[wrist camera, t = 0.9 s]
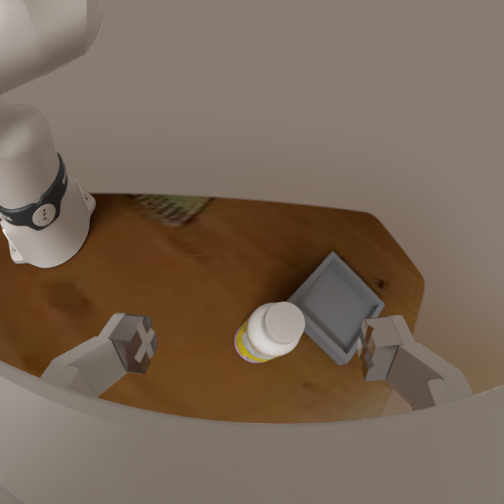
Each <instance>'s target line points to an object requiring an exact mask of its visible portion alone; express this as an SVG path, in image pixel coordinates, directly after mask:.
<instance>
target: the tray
mask: <svg viewBox="0 0 504 504" xmlns="http://www.w3.org/2000/svg"><path fill="white" fill-rule="evenodd" d="M286 302H289V303H292V304H294V305H295V306H297V307H298V308H299V309H300V311H301V312H302V314H303V316H304V319H305V328H304V332H305V333H306V334H307V335H308V336H309V337H310V338H311V339H312V340H313V341H314V342H315V343H317V344H318V345H319V346H320V347H321V348H322V349H323V350H324V351H325V352H326V353H327V354H328V355H329V356H330V357H331V358H332V359H333V360H334V361H335V362H336V363H337V364H338V365H342V364H346V363H348V362H349V360H350V359H351V358H352V356H353V355H354V353H355V352H356V350H357V349H358V339H359V335H360V334H361V333H362V332H363V331H362V327H361V326H362V321H363V319H364V318H376V317H378V316H379V314H380V312H381V310H382V309H383V307H384V305H385V304H384V303H383V302H382V301H381V300H380V299H379V297H378V296H377V295H376V294H375V293H374V292H373V291H372V290H371V289H370V288H369V287H368V286H367V285H366V284H365V283H364V282H363V281H362V280H361V279H360V278H359V277H358V276H357V275H356V274H355V273H354V272H353V271H352V270H351V269H350V268H349V267H348V266H347V265H346V264H345V263H344V262H343V261H342V260H341V259H340V258H339V257H338V256H337V255H336V254H335V253H334V252H333V251H332V252H331V253H330V254H329V255H328V256H327V257H326V258H325V259H324V260H323V262H322V263H321V264H320V265H319V266H318V267H317V268H316V269H315V270H314V271H313V273H312V274H311V275H310V276H309V277H308V278H307V279H306V280H305V281H304V282H303V283H302V285H301V286H300V287H299V288H298V289H297V290H296V291H295V292H294V293H293V294H292V295H291V296H290V297H289V298H288V299H287V301H286Z"/></svg>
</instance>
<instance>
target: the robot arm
mask: <svg viewBox="0 0 504 504" xmlns="http://www.w3.org/2000/svg"><path fill="white" fill-rule="evenodd" d="M102 16H103V8H102V2H101V0H0V95H2V94H4V93H6V92H8V91H10V90H12V89H14V88H17V87H19V86H21V85H23V84H25V83H28V82H30V81H33V80H35V79H37V78H40V77H42V76H45V75H47V74H49V73H51V72H53V71H55V70H56V69H58V68H60V67H62V66H64V65H66V64H68V63H70V62H71V61H73V60H75V59H77V58H79V57H81V56H83V55H84V54H85V53H86V52H87V51H88V50H89V48H90V47H91V45H92V44H93V42H94V40H95V39H96V37H97V34H98V32H99V29H100V26H101V22H102ZM86 199H87V200H86ZM95 206H96V201H95V199H94V198H93V197H92V196H91V195H90V194H89V193H88V192H86V191H85V190H84V189H83V188H82V187H81V186H80V183H79V181H78V179H77V178H74V177H73V176H72V175H71V174H69V173H68V172H67V171H66V167H65V164H64V162H63V161H62V158H61V156H60V154H59V153H58V152H57V151H56V147H55V144H54V140H53V137H52V133H51V129H50V125H49V121H48V119H47V117H46V116H45V115H44V114H43V113H42V112H41V111H40V110H39V109H37V108H35V107H33V106H31V105H27V104H11V103H6V102H3V101H1V100H0V218H1V219H2V221H1V222H0V223H1V226H2V228H3V232H4V234H5V236H6V237H7V239H8V240H9V246H10V252H11V257H12V259H13V261H14V262H15V263H30V264H32V265H35V266H37V267H43V268H48V267H54V266H57V265H60V264H62V263H64V262H66V261H67V260H69V259H70V258H71V257H72V256H74V255H75V254H76V253H77V251H78V250H79V249H80V248H81V246H82V245H83V243H84V241H85V239H86V237H87V234H88V230H89V223H90V216H91V214H92V212H93V211H94V209H95ZM151 326H152V322H151V319H150V317H148V316H143V315H134V314H124V313H115V314H114V315H113V316H112V318H111V319H110V320H109V322H108V323H107V325H106V326H105V327H104V329H103V330H102V332H101V333H100V334H99V336H98V337H93V338H91V339H90V340H88V341H86V342H84V343H82V344H81V345H79V346H77V347H75V348H73V349H71V350H70V351H68V352H66V353H64V354H62V355H61V356H59V357H57V358H55V359H53V361H52V362H51V363H50V365H49V366H48V368H47V369H46V370H45V372H44V373H43V375H42V376H41V378H38V377H36V376H34V375H31V374H29V373H26V372H24V371H22V370H20V369H17V368H15V367H13V366H11V365H9V364H7V363H5V362H3V361H1V360H0V504H504V385H501V386H499V387H496V388H493V389H491V390H488V391H485V392H482V393H479V394H476V395H473V393H472V391H471V389H470V387H469V385H468V383H467V381H466V378H465V376H464V374H463V372H462V371H460V370H459V369H457V368H456V367H454V366H453V365H451V364H450V363H448V362H447V361H445V360H444V359H442V358H441V357H439V356H438V355H436V354H435V353H433V352H432V351H430V350H429V349H427V348H426V347H424V346H423V345H421V344H420V343H415V341H414V339H413V337H412V335H411V332H410V330H409V328H408V326H407V324H406V322H405V320H404V318H403V316H401V315H396V316H389V317H376V318H364V319H363V321H362V326H361V327H362V331H363V332H362V333H361V334H360V335H359V339H358V356H359V359H360V360H361V361H362V362H363V364H362V372H363V376H364V380H365V381H374V380H385V379H386V381H387V382H388V383H389V384H390V385H391V387H392V388H393V389H394V390H395V391H396V392H397V393H398V394H400V396H401V397H402V398H403V399H404V400H405V401H406V402H407V403H408V404H409V405H410V406H411V407H412V408H413V409H412V411H411V412H405V413H400V414H394V415H388V416H382V417H375V418H367V419H359V420H349V421H338V422H325V423H303V424H263V423H242V422H228V421H217V420H207V419H199V418H191V417H184V416H177V415H171V414H165V413H160V412H154V411H149V410H144V409H140V408H135V407H131V406H126V405H122V404H118V403H114V402H111V401H107V400H103V399H100V398H97V397H98V396H99V395H100V394H102V393H103V392H104V391H105V390H107V389H108V388H109V387H110V386H111V385H113V384H114V383H115V382H116V381H118V380H119V379H120V378H121V377H122V376H124V375H125V374H126V373H127V372H132V373H139V374H145V373H146V371H147V369H148V367H149V365H150V363H151V362H150V360H149V358H150V357H151V356H153V355H154V354H155V352H156V349H157V336H156V333H155V332H154V331H153V330H152V329H151Z"/></svg>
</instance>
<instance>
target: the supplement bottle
mask: <svg viewBox="0 0 504 504" xmlns="http://www.w3.org/2000/svg"><path fill="white" fill-rule="evenodd" d="M304 328H305V319H304V316H303V314H302V312H301V311H300V309H299V308H298V307H297V306H295V305H294V304H292V303H289V302H278V303H268V304H264V305H262V306H260V307H259V308H257V309H256V310H255V311H254V312H253V313H252V314H251V315H250V316H249V317H248V318H247V320H246V321H245V322H244V323H243V324H242V325H241V326H240V327H239V328H238V330H237V332H236V335H235V347H236V350H237V352H238V353H239V355H240V356H241V357H242V358H244V359H245V360H247V361H249V362H252V363H262V362H265V361H268V360H271V359H273V358H276V357H279V356H281V355H284V354H286V353H288V352H290V351H291V350H293V349H294V348H295V346H296V345H297V344H298V342H299V339H300V336H301V335H302V333H303V331H304Z"/></svg>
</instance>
